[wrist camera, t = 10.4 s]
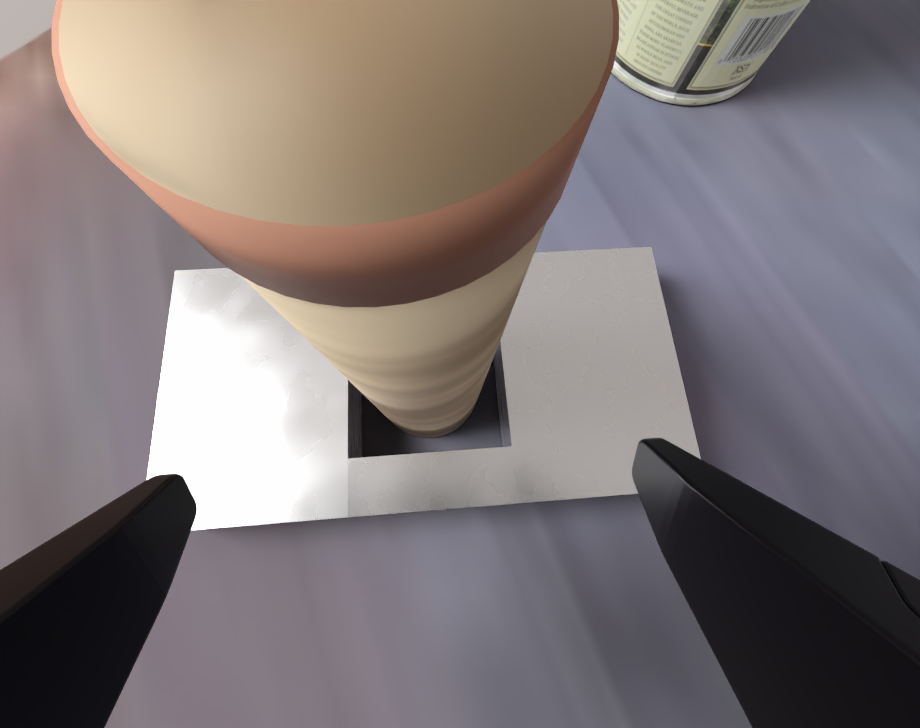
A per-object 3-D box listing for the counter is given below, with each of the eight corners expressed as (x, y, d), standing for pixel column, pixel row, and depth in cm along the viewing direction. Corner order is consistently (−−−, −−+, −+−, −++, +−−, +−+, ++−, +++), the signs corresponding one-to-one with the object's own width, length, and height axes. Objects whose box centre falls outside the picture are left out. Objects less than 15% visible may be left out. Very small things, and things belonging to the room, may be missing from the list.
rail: (670, 486, 17) (707, 487, 14) (186, 525, 16) (139, 534, 13) (626, 275, 19) (651, 247, 17) (210, 297, 18) (174, 270, 16)
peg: (452, 457, 17) (479, 341, 2) (359, 411, 17) (-85, 81, 3) (495, 365, 18) (687, -78, 4) (408, 325, 18) (265, -219, 4)
